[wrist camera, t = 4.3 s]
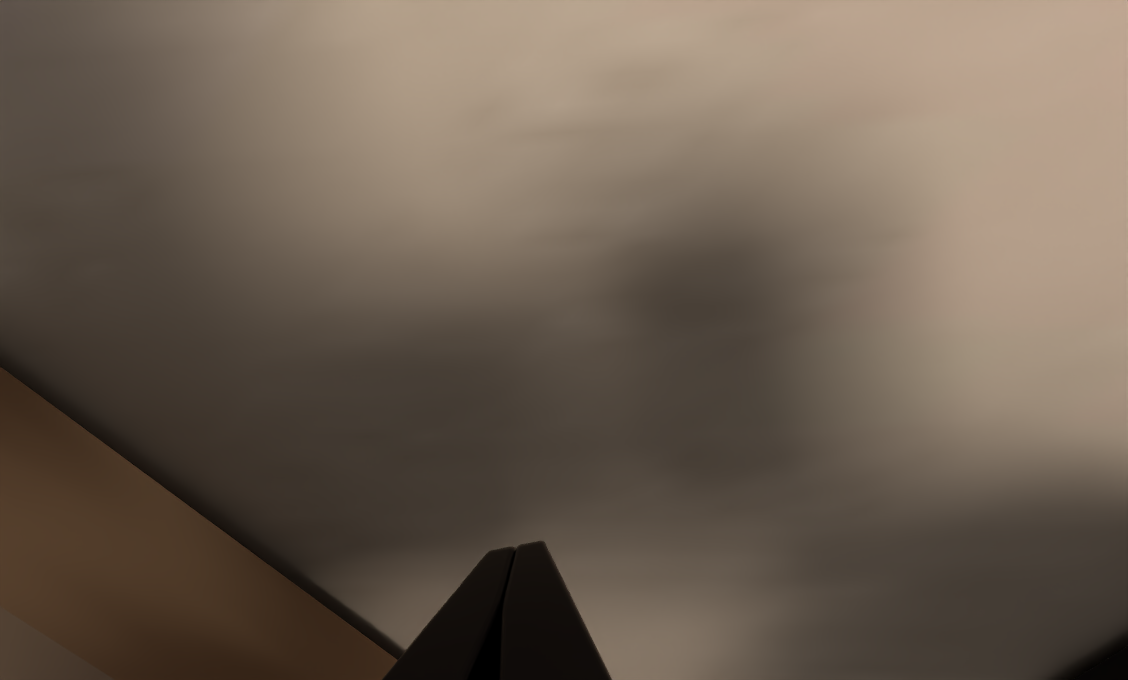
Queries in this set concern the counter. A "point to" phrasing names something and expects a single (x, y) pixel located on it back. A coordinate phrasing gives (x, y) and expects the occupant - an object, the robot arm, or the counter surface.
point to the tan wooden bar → (139, 574)
